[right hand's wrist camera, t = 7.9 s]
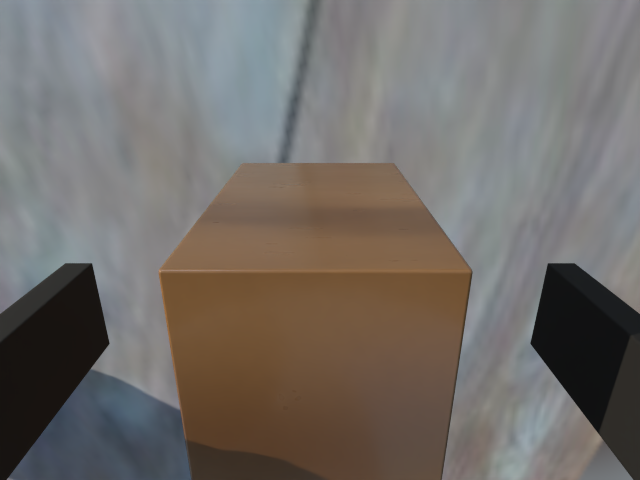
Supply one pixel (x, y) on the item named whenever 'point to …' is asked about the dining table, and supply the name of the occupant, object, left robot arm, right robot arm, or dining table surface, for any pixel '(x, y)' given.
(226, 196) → the bar
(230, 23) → the dining table surface
